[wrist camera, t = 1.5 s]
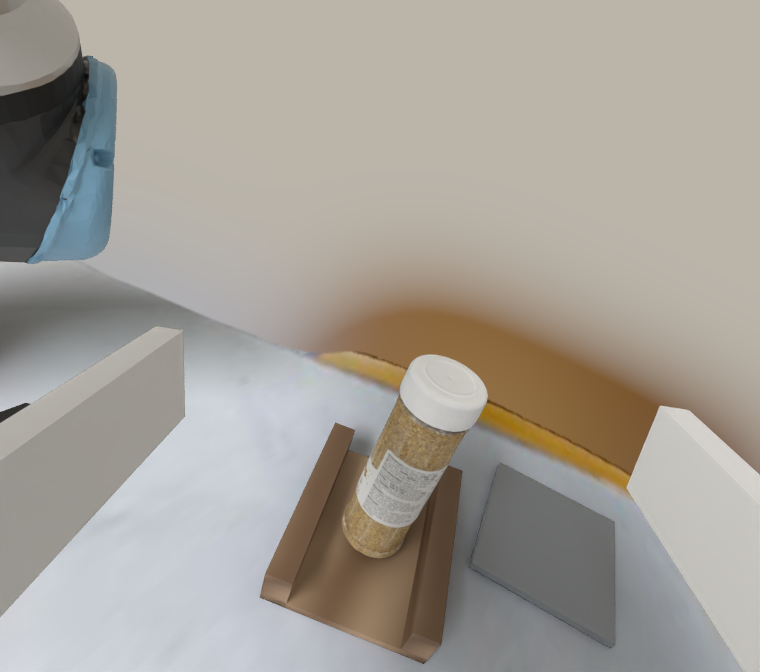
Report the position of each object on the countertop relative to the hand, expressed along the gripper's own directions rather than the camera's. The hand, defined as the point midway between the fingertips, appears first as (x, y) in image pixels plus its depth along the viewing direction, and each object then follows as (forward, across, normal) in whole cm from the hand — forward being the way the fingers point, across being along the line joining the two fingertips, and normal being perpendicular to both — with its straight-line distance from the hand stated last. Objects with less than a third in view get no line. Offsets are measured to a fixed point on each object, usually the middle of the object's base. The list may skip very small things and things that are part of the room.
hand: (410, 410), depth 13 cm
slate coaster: (+16, +13, -19) cm, 28 cm away
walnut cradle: (+13, 0, -18) cm, 22 cm away
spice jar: (+13, 0, -17) cm, 21 cm away
